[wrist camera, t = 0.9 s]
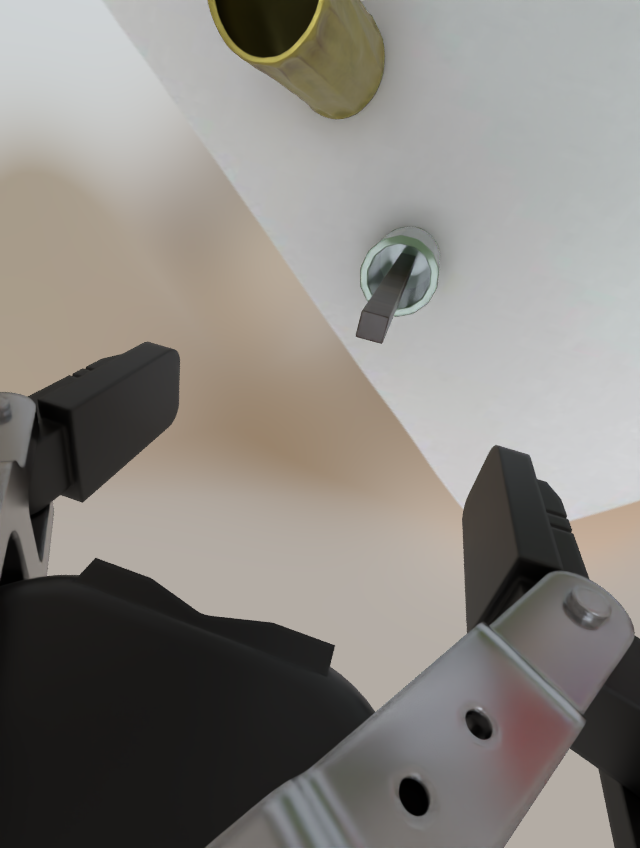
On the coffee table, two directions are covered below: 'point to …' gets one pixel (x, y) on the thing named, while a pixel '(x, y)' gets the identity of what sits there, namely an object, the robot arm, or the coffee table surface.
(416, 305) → the holder
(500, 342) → the coffee table surface
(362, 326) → the stirring stick
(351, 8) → the vase
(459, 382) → the coffee table surface
